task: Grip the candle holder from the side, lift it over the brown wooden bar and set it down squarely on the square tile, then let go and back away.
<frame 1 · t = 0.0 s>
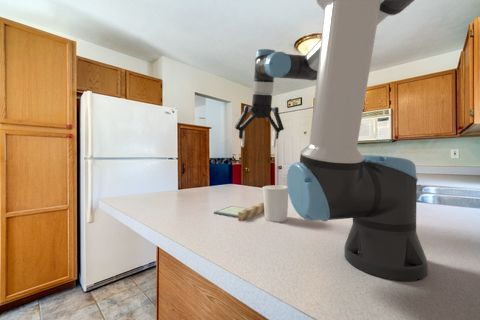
hand: (258, 146, 93), 28 cm above the countertop, tool tilted 20°, fingers open, 13 cm apart
square tile: (235, 212, 93), on the countertop
candle holder: (275, 219, 83), on the countertop
brown wooden bar: (254, 214, 89), on the countertop
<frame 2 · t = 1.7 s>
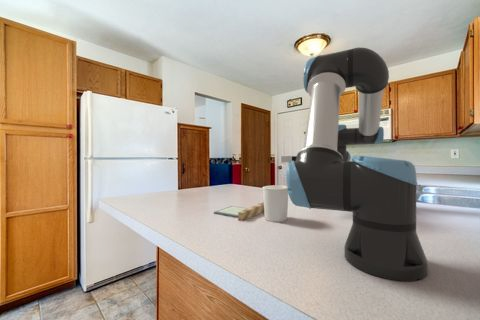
hand: (292, 159, 88), 22 cm above the countertop, tool horizontal, fingers open, 13 cm apart
nothing on the countertop moved.
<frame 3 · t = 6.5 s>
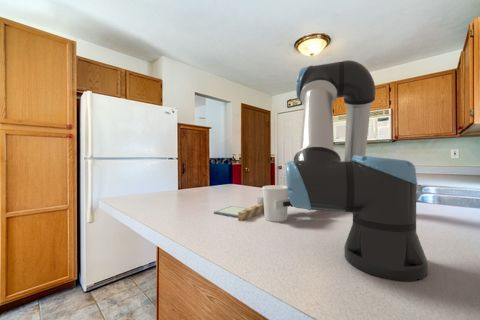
hand: (266, 202, 80), 7 cm above the countertop, tool horizontal, fingers closed on candle holder, 9 cm apart
candle holder: (275, 219, 83), on the countertop, touching gripper
when the fingers open (8 cm above the countertop, at t = 11.8 s): candle holder moves 3 cm, resting on square tile.
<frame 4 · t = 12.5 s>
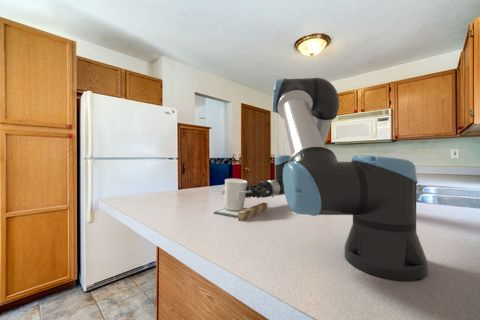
hand: (228, 193, 91), 8 cm above the countertop, tool horizontal, fingers open, 13 cm apart
candle holder: (233, 208, 96), point 1 cm above the countertop, touching gripper, square tile
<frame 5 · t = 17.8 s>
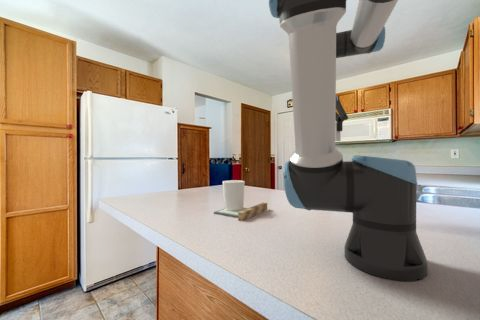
hand: (320, 142, 84), 29 cm above the countertop, tool pointing down, fingers open, 13 cm apart
candle holder: (233, 209, 96), point 1 cm above the countertop, touching square tile
at the end: candle holder inside the target area on the square tile (3.3 cm from its centre), point 0.6 cm above the square tile's base; candle holder tilted 0°; the gripper is holding nothing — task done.
